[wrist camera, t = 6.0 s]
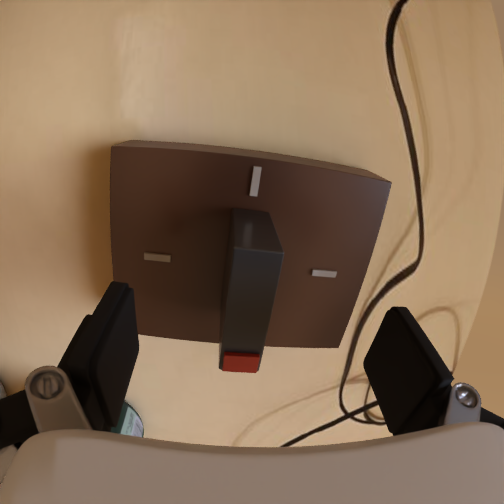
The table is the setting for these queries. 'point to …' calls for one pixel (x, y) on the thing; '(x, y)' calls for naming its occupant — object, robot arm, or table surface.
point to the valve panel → (217, 233)
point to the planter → (2, 391)
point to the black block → (248, 289)
